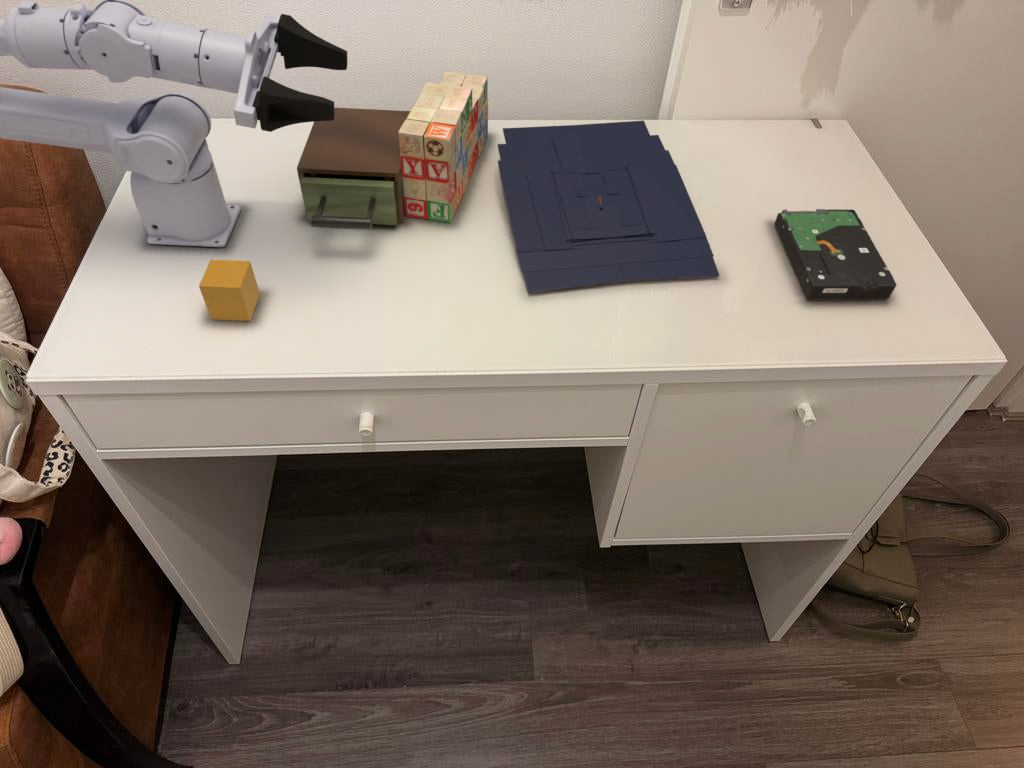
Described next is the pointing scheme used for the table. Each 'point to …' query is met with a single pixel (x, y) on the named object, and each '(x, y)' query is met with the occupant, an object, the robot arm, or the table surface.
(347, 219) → the drawer
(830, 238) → the disk drive
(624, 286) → the table surface
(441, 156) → the stack of blocks
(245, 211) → the table surface
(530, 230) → the navy folded towel
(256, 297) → the block
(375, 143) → the cabinet
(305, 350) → the table surface
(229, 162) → the table surface
